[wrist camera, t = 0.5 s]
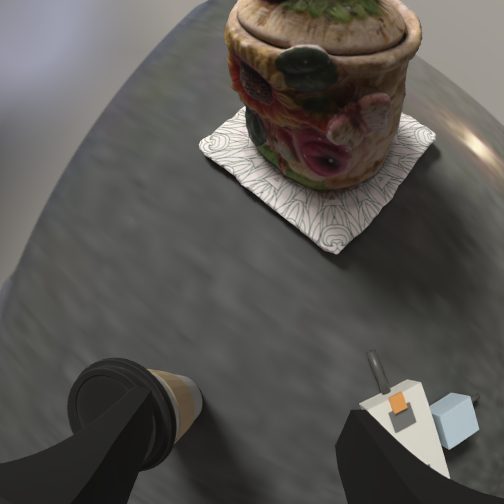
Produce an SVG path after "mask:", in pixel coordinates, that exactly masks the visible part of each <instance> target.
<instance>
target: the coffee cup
mask: <svg viewBox="0 0 504 504" xmlns="http://www.w3.org/2000/svg"><path fill="white" fill-rule="evenodd" d="M134 386H138V387H143V388H147V389H152V412H153V431H152V435H151V439H150V443H149V447H148V451H147V453H146V456H145V458H144V461H143V463H142V466H141V468H140V471H144V470H148V469H151V468H154V467H156V466H157V465H159V464H160V463H162V462H163V461H164V460H165V459H166V458H167V456H168V455H169V453H170V452H171V450H172V448H173V445H174V444H175V443H176V442H177V441H178V440H179V439H180V438H181V437H182V436H183V435H184V433H185V432H186V431H187V430H188V429H189V428H190V426H191V425H192V423H193V421H194V420H195V419H196V418H197V417H198V415H199V414H200V412H201V410H202V396H201V393H200V390H199V388H198V387H197V385H196V384H195V383H194V382H193V381H192V380H191V379H189V378H187V377H185V376H181V375H174V374H171V373H168V372H163V371H157V370H150V369H146V368H144V367H143V366H141V365H139V364H137V363H135V362H133V361H130V360H127V359H122V358H108V359H103V360H101V361H98V362H95V363H93V364H91V365H89V366H88V367H87V368H85V369H84V370H83V371H82V372H81V374H80V375H79V376H78V378H77V380H76V381H75V382H74V384H73V386H72V388H71V390H70V393H69V397H68V403H67V412H68V419H69V423H70V427H71V429H72V432H73V434H76V433H77V432H79V431H80V430H82V429H83V428H85V427H86V426H87V425H89V424H90V423H92V422H93V421H94V420H96V419H97V418H98V417H100V416H101V415H102V414H103V413H105V412H106V411H107V410H108V409H109V408H111V407H112V406H113V405H114V404H115V403H116V402H117V401H119V400H120V399H121V398H122V397H123V396H124V395H125V394H126V393H127V392H128V391H129V390H131V389H132V388H133V387H134ZM140 471H139V472H140Z"/></svg>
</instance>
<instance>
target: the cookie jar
mask: <svg viewBox="0 0 504 504" xmlns="http://www.w3.org/2000/svg"><path fill="white" fill-rule="evenodd" d="M224 40H225V43H226V45H227V46H228V50H229V54H228V58H227V62H228V68H229V72H230V76H231V78H232V84H231V87H232V89H233V90H234V91H236V92H238V94H239V97H240V100H241V101H242V102H243V103H244V104H245V107H243V108H242V109H240V110H239V111H238V112H237V114H236V115H235V116H234V117H233V118H232V119H229V120H227V121H226V122H225V123H224V124H223V125H221V126H220V127H219V128H218V129H217V130H216V131H215V132H214V133H213V134H212V135H211V136H208V137H206V138H204V139H203V140H201V142H200V144H199V148H200V150H201V151H202V152H203V153H204V154H205V156H206V157H208V158H211V159H212V160H213V161H214V162H216V163H217V164H219V165H220V166H221V167H223V168H225V169H226V170H227V171H228V172H230V173H231V174H232V175H234V176H235V177H236V178H237V180H238V181H239V182H240V183H241V185H243V186H244V187H246V188H247V189H248V190H250V191H251V192H253V193H254V194H255V195H256V196H258V197H259V198H260V199H261V200H263V201H264V202H265V203H266V204H267V205H268V206H270V207H271V208H272V209H273V210H275V211H276V212H277V213H279V214H280V215H281V216H282V217H284V218H285V219H286V220H287V221H289V222H290V223H291V224H293V225H294V226H295V227H297V228H298V229H299V230H300V231H301V232H302V233H303V234H305V235H306V236H308V237H309V238H310V239H311V240H312V241H313V242H315V243H316V244H317V245H318V246H319V247H320V248H322V249H323V250H324V251H327V252H331V253H334V254H338V253H339V252H340V251H341V250H342V249H343V248H344V247H345V246H346V245H347V244H348V243H349V242H350V241H352V240H353V239H354V238H355V237H356V236H357V235H359V234H360V233H362V232H363V230H364V229H365V228H366V227H368V226H369V225H370V223H371V222H372V220H373V218H374V217H375V216H377V215H378V214H379V212H380V210H381V209H382V207H383V206H385V205H386V204H387V203H388V202H389V201H390V200H391V199H392V198H393V196H394V193H395V192H396V190H397V187H398V186H399V184H401V183H402V181H403V180H404V179H405V178H406V177H407V175H408V173H409V172H410V171H411V170H412V168H413V166H414V165H415V163H416V161H417V160H418V159H419V158H420V157H421V156H422V154H423V153H424V152H425V151H426V150H427V148H428V147H429V145H431V144H432V143H433V142H434V141H435V139H436V134H435V133H434V132H432V131H431V130H430V129H429V128H427V127H426V126H424V125H421V124H419V122H418V121H417V120H416V119H413V118H412V117H411V116H409V115H405V114H404V113H402V109H403V101H404V97H405V95H406V93H405V81H406V72H407V67H408V63H409V60H411V59H412V58H413V57H414V56H415V54H416V52H417V51H418V49H419V46H420V44H421V40H422V31H421V24H420V20H419V18H418V17H417V15H416V14H415V13H414V12H412V11H411V10H410V9H409V8H408V7H406V6H405V5H404V4H403V3H402V2H401V1H400V0H238V2H237V3H236V4H235V6H234V8H233V9H232V11H231V13H230V15H229V18H228V21H227V24H226V27H225V34H224Z"/></svg>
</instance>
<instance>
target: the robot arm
mask: <svg viewBox="0 0 504 504" xmlns="http://www.w3.org/2000/svg"><path fill="white" fill-rule="evenodd" d="M152 431H153V412H152V389H147V388H143V387H138V386H134V387H133V388H132V389H131V390H129V391H128V392H127V393H126V394H125V395H124V396H123V397H122V398H121V399H120V400H119V401H117V402H116V403H115V404H114V405H113V406H112V407H111V408H109V409H108V410H107V411H106V412H105V413H103V414H102V415H101V416H100V417H98V418H97V419H96V420H94V421H93V422H92V423H90V424H89V425H87V426H86V427H85V428H83V429H82V430H80V431H79V432H77V433H76V434H74V435H72V436H71V437H69V438H67V439H66V440H64V441H62V442H60V443H58V444H56V445H54V446H52V447H50V448H48V449H46V450H43V451H41V452H39V453H36V454H33V455H30V456H27V457H24V458H21V459H18V460H14V461H11V462H6V463H1V464H0V504H127V502H128V499H129V496H130V493H131V491H132V488H133V486H134V483H135V481H136V478H137V476H138V473H139V471H140V468H141V466H142V463H143V461H144V458H145V456H146V453H147V451H148V447H149V443H150V439H151V435H152ZM335 448H336V457H337V464H338V470H339V473H340V477H341V480H342V484H343V488H344V491H345V495H346V498H347V502H348V504H504V498H500V497H496V496H492V495H488V494H484V493H481V492H478V491H476V490H473V489H470V488H468V487H466V486H463V485H461V484H459V483H457V482H455V481H453V480H451V479H449V478H447V477H445V476H444V475H442V474H440V473H439V472H437V471H436V470H434V469H433V468H431V467H430V466H428V465H427V464H425V463H424V462H422V461H421V460H420V459H419V458H417V457H416V456H415V455H414V454H412V453H411V452H410V451H409V450H408V449H407V448H405V447H404V446H403V445H402V444H401V443H400V442H399V441H398V440H397V439H396V438H394V437H393V436H392V435H391V434H390V433H389V432H388V431H387V430H386V429H385V428H384V427H383V426H382V425H381V424H380V423H379V422H378V421H377V420H376V419H375V418H374V417H373V416H372V415H371V414H370V413H369V412H368V411H367V410H351V411H350V414H349V416H348V418H347V421H346V423H345V425H344V428H343V430H342V432H341V434H340V436H339V439H338V441H337V443H336V445H335Z"/></svg>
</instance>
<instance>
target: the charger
mask: <svg viewBox="0 0 504 504" xmlns="http://www.w3.org/2000/svg"><path fill="white" fill-rule="evenodd" d="M479 398H480V394H479V393H477V394H476V395H474V396H473V397H472V398H470V396H466V395H461V394H456V393H450V394H448V395H447V396H445V397H444V398H442V399H440V400H439V401H437V402H436V403H434V404H432V405H431V406H429V408H430V411H431V414H432V417H433V420H434V423H435V427H436V430H437V433H438V436H439V440H440V443H441V445H442V446H443V447H445V448H447V449H449V450H450V449H451V448H453V447H454V446H456V445H458V444H459V443H461V442H462V441H464V440H465V439H466V438H468V437H469V436H471V435H472V434H474V433H475V432H476V431H478V430H479V427H478V423H477V419H476V416H475V412H474V408H473V405H472V403H474V402H475V401H476V400H478V399H479Z"/></svg>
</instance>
